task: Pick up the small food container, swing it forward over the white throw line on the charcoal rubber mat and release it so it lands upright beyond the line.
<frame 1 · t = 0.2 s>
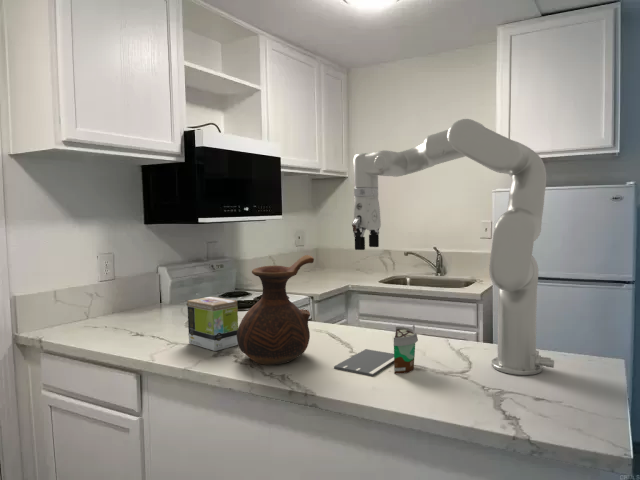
hand: (367, 248, 152), 31 cm above the worktop, tool pointing down, fingers open, 9 cm apart
jug: (275, 358, 143), on the worktop
food container: (406, 369, 131), on the worktop
tea box: (213, 344, 159), on the worktop
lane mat: (369, 362, 137), on the worktop
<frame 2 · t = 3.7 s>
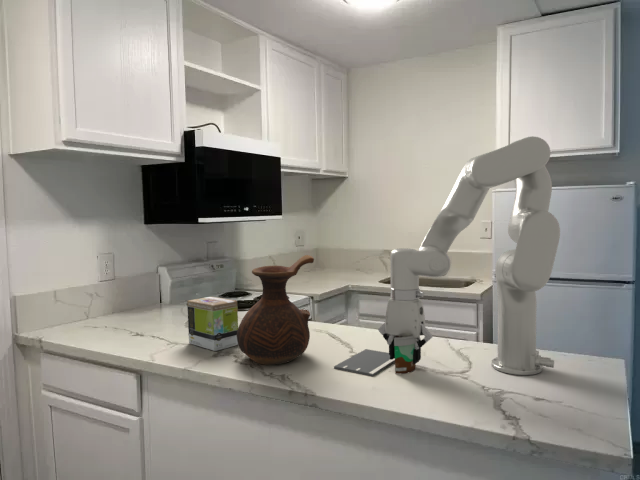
hand: (404, 359, 131), 2 cm above the worktop, tool pointing down, fingers closed on food container, 5 cm apart
food container: (408, 369, 131), on the worktop, touching gripper
everything else where it was.
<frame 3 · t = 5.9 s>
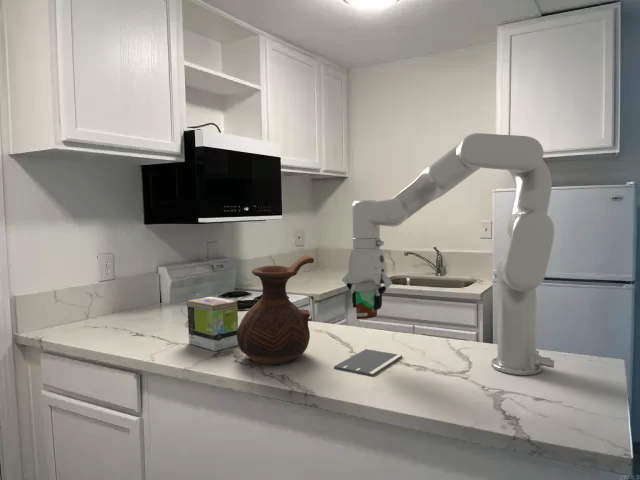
hand: (366, 307, 137), 16 cm above the worktop, tool pointing down, fingers closed on food container, 5 cm apart
food container: (370, 316, 137), point 13 cm above the worktop, touching gripper
everything else where it was.
when the fingers open (4 cm above the worktop, at t = 8.0 s): food container moves 1 cm, resting on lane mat.
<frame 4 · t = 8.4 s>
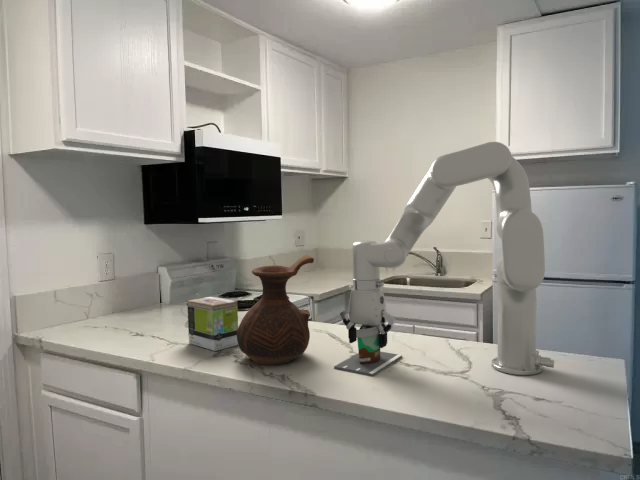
hand: (367, 344, 138), 5 cm above the worktop, tool pointing down, fingers open, 9 cm apart
food container: (373, 359, 137), point 1 cm above the worktop, touching gripper, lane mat
everything else where it was.
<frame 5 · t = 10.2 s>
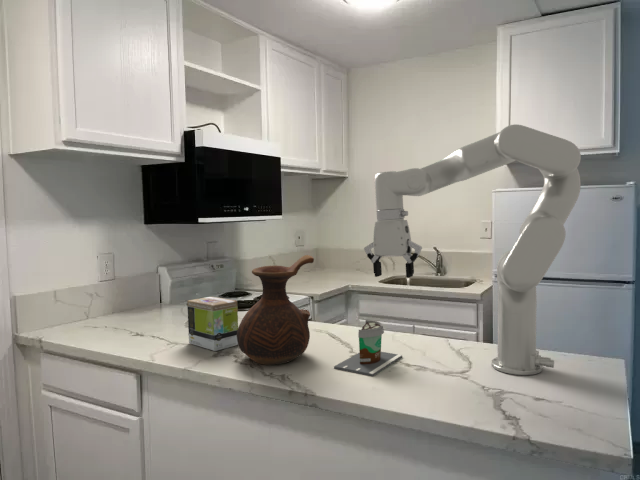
hand: (393, 276, 137), 24 cm above the worktop, tool pointing down, fingers open, 9 cm apart
food container: (373, 360, 137), resting on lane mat
everything else where it was.
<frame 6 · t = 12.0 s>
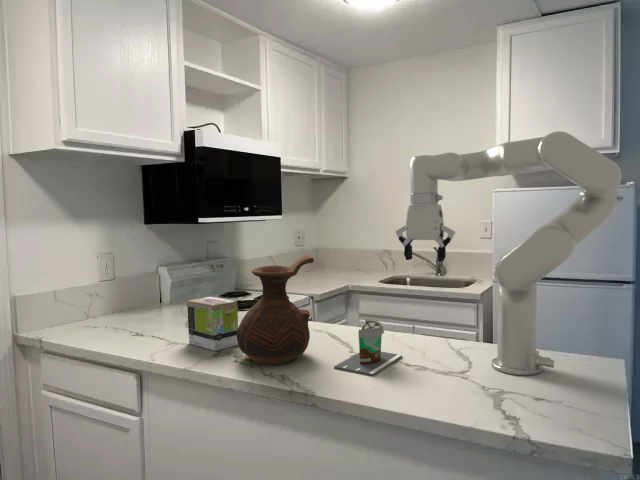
hand: (424, 260, 138), 28 cm above the worktop, tool pointing down, fingers open, 9 cm apart
nothing on the worktop moved.
at the end: food container inside the target area (3.7 cm from its centre), resting on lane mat; food container tilted 0°; the gripper is holding nothing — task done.
